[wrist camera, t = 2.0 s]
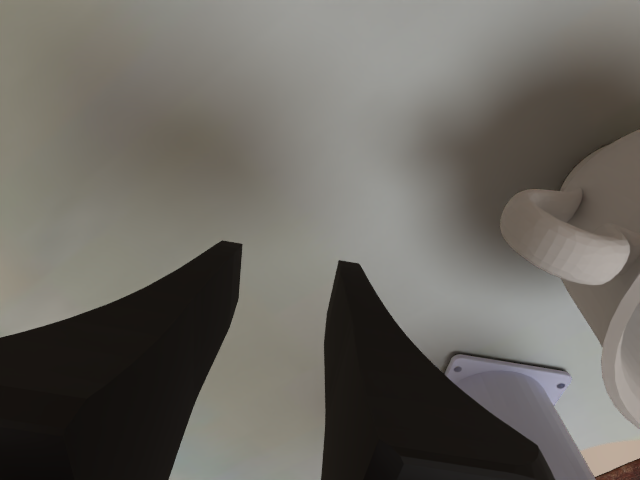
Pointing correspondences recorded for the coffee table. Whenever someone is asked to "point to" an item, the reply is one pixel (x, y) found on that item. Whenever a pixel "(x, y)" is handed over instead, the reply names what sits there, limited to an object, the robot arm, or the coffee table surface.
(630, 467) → the wooden tablet
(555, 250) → the teacup
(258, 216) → the coffee table surface
